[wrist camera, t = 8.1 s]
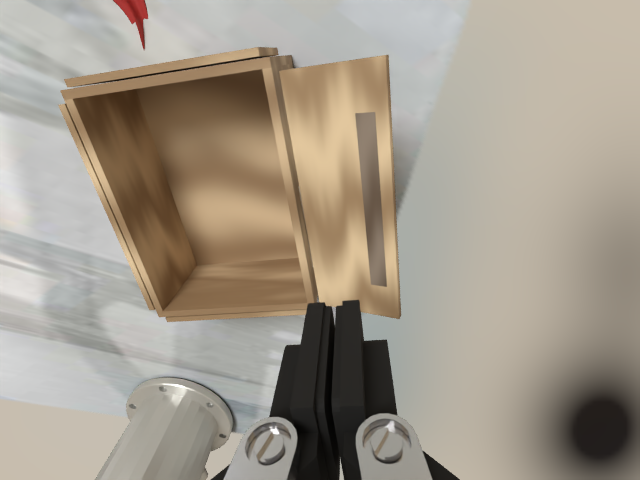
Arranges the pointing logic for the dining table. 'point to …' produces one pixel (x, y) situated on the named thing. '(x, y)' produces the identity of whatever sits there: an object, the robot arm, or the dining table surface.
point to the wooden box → (199, 182)
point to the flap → (347, 179)
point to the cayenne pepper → (135, 13)
